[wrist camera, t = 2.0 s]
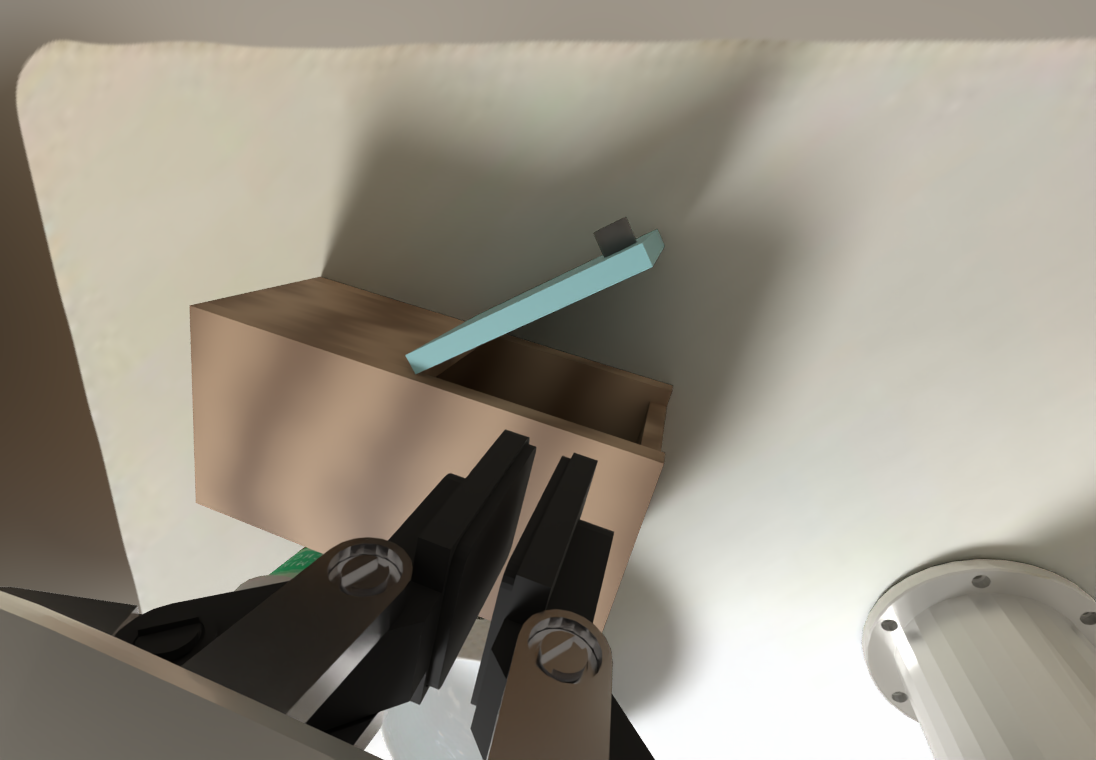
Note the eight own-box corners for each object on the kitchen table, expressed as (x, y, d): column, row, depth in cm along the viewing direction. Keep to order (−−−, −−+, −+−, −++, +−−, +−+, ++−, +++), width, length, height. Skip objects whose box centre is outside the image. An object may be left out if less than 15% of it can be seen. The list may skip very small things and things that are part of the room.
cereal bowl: (615, 594, 38) (599, 677, 31) (631, 765, 43) (620, 867, 36) (403, 577, 42) (351, 646, 36) (440, 733, 47) (400, 818, 41)
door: (648, 207, 28) (629, 213, 20) (664, 246, 29) (652, 266, 20) (468, 297, 32) (392, 331, 24) (485, 329, 33) (415, 374, 25)
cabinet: (672, 385, 32) (664, 463, 22) (617, 543, 36) (591, 661, 27) (320, 276, 35) (189, 305, 26) (310, 432, 40) (195, 502, 31)
